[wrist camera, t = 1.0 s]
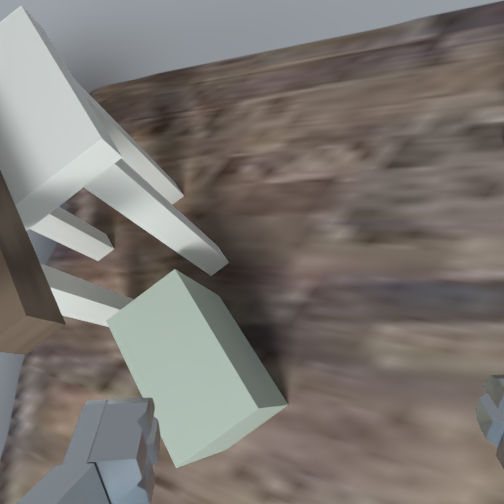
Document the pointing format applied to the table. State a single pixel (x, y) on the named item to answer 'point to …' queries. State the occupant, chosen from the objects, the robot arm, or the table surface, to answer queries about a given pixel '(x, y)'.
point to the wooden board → (22, 286)
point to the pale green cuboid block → (194, 368)
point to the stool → (79, 168)
